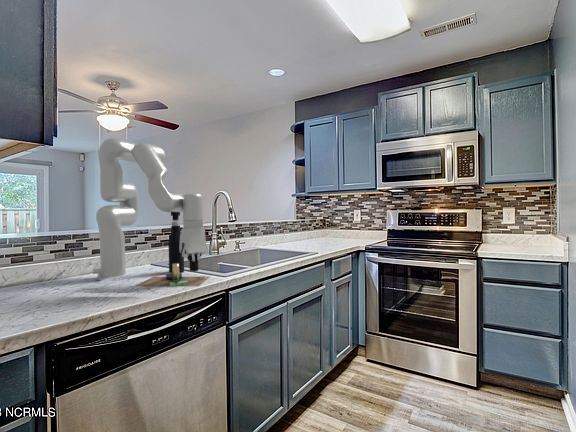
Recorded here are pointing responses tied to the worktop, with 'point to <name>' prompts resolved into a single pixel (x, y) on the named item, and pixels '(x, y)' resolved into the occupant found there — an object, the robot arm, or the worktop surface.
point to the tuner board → (182, 281)
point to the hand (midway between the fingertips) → (194, 270)
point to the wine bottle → (175, 244)
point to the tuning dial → (174, 273)
